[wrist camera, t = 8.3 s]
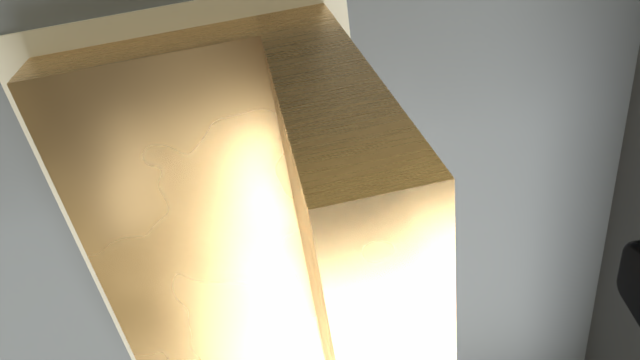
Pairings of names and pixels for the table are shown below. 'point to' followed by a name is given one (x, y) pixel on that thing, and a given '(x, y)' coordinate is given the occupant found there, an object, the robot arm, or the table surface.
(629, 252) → the robot arm
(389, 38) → the arena
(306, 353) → the bracket
